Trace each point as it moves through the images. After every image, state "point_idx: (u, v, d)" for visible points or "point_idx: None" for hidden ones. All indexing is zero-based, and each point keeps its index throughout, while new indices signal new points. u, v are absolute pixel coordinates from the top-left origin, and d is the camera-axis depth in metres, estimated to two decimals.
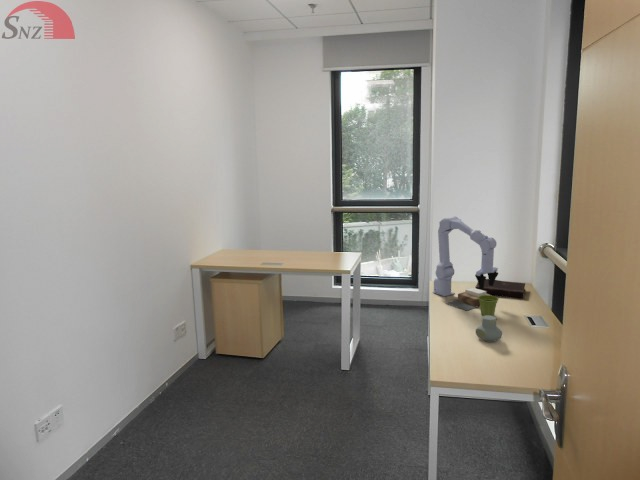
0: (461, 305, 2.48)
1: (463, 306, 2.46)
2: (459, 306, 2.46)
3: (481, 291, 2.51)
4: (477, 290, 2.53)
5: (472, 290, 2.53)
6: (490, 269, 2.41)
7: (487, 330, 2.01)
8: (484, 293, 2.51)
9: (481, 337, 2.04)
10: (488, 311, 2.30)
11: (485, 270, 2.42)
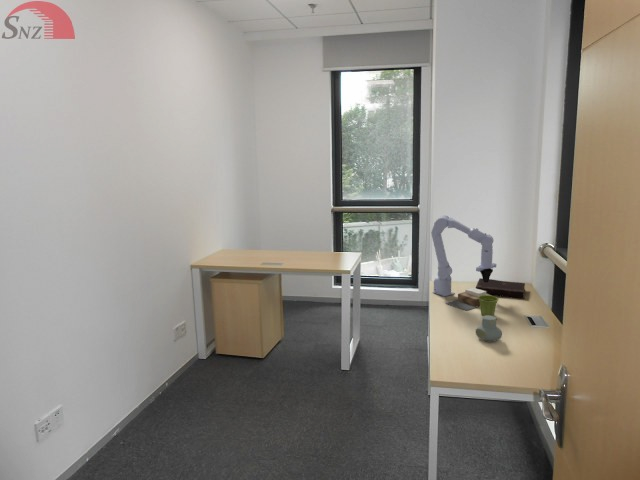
0: (461, 305, 2.48)
1: (463, 306, 2.46)
2: (459, 306, 2.46)
3: (481, 291, 2.51)
4: (477, 290, 2.53)
5: (472, 290, 2.53)
6: (489, 265, 2.52)
7: (487, 330, 2.01)
8: (484, 293, 2.51)
9: (481, 337, 2.04)
10: (488, 311, 2.30)
11: (484, 266, 2.53)
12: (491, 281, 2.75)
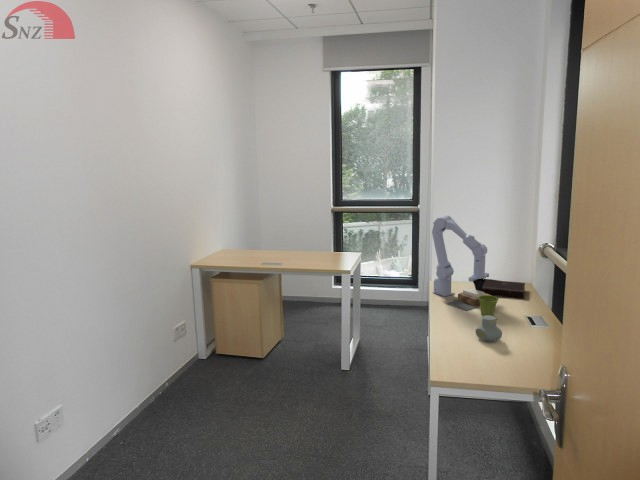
0: (461, 305, 2.48)
1: (463, 306, 2.46)
2: (459, 306, 2.46)
3: (479, 292, 2.50)
4: (475, 291, 2.52)
5: (470, 291, 2.52)
6: (482, 275, 2.50)
7: (487, 330, 2.01)
8: (482, 294, 2.50)
9: (481, 337, 2.04)
10: (488, 311, 2.30)
11: (477, 276, 2.51)
12: (491, 281, 2.75)
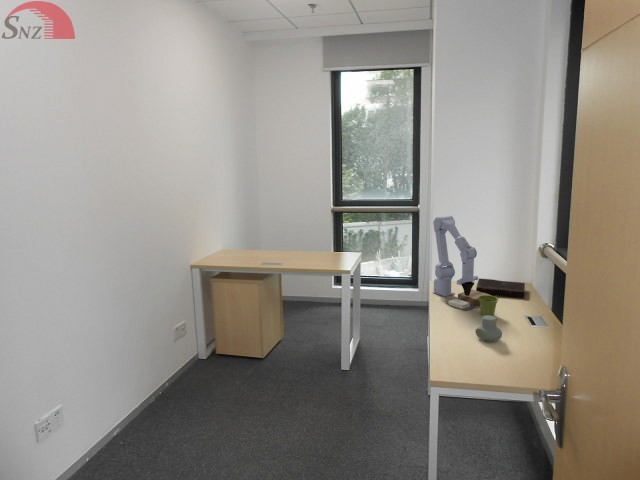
0: None
1: None
2: None
3: None
4: None
5: None
6: (470, 278, 2.45)
7: (487, 330, 2.01)
8: (464, 306, 2.43)
9: (481, 337, 2.04)
10: (488, 311, 2.30)
11: (465, 279, 2.46)
12: (491, 281, 2.75)
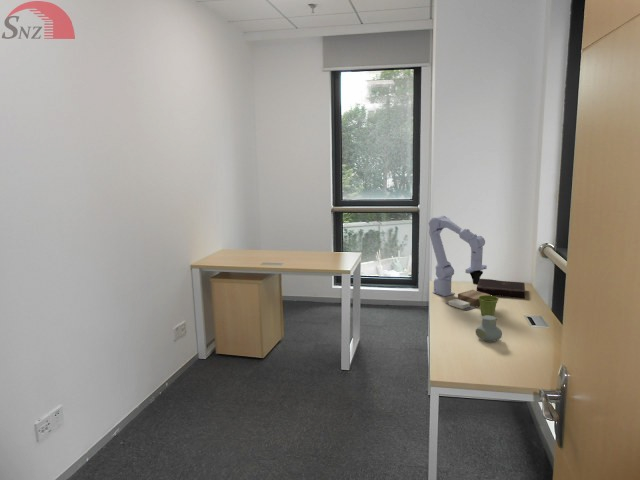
0: None
1: None
2: None
3: None
4: None
5: None
6: (479, 267, 2.48)
7: (487, 330, 2.01)
8: (464, 306, 2.43)
9: (481, 337, 2.04)
10: (488, 311, 2.30)
11: (474, 268, 2.48)
12: (491, 281, 2.75)
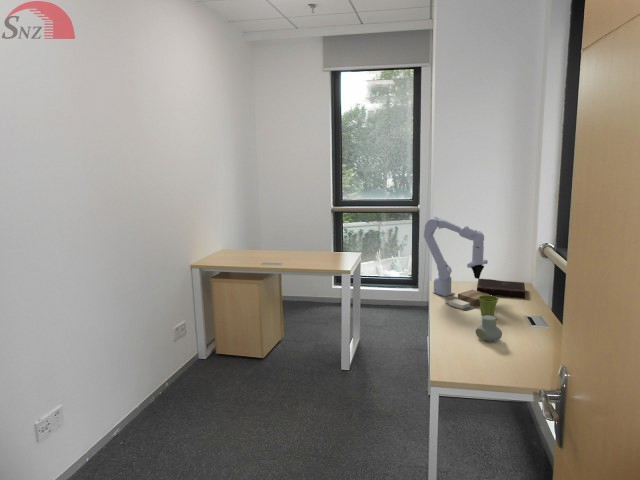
0: None
1: None
2: None
3: None
4: None
5: None
6: (480, 261, 2.56)
7: (487, 330, 2.01)
8: (464, 306, 2.43)
9: (481, 337, 2.04)
10: (488, 311, 2.30)
11: (476, 262, 2.56)
12: (490, 281, 2.75)
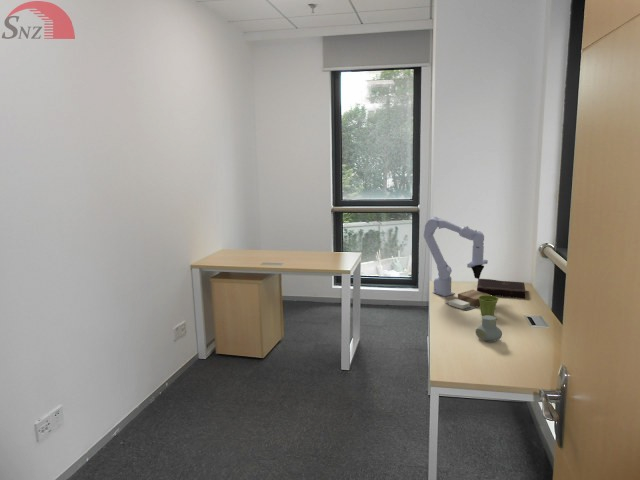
0: None
1: None
2: None
3: None
4: None
5: None
6: (480, 261, 2.56)
7: (487, 330, 2.01)
8: (464, 306, 2.43)
9: (481, 337, 2.04)
10: (488, 311, 2.30)
11: (476, 262, 2.56)
12: (490, 281, 2.75)
